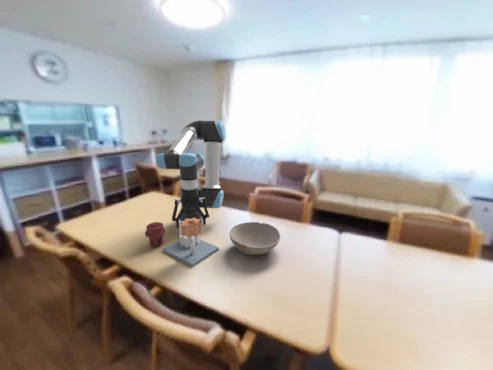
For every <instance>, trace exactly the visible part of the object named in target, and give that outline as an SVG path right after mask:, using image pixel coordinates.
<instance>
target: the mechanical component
mask: <svg viewBox="0 0 493 370" xmlns="http://www.w3.org/2000/svg"><path fill="white" fill-rule="evenodd" d="M145 228H146V230H145V232H144V234H145V237H147V238H148V239H149V242H148V243H149V245H150V246H151V247H152V248H153V249H155V248H157V247H159V246H160V245H163V244H164V235H165V234H166V233H167V231H166V228H165V227H164V223H162V222H159V221H158V222H157V221H155V222H151V223H148V224H147V225H146V227H145Z"/></svg>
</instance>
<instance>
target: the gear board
mask: <svg viewBox="0 0 493 370" xmlns="http://www.w3.org/2000/svg"><path fill="white" fill-rule="evenodd" d="M219 249H220V248H219V246H216V245H214V244H212V243H209V242H207V241H205V240H202V239H200V238H199V243H198V244H196V245H195V246H194V238H191V239H190V247H188V248H185V246H180V239H178V240H177V241H175V242H173V243H171V244H169V245H167V246H165V247H163V248H162V252H163V253H166V254H167V255H169V256H171V257H173V258H175V259H177V260H178V261H181V262H183V263H184V264H186V265H187V266H190V267H191V268H194V267H195V266H196V265H199V264H200V263H202V262H204V260H206V259H208V258H209V257H211V256H212V255H213V254H215V253H217V252H218V251H220V250H219Z"/></svg>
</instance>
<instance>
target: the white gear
mask: <svg viewBox="0 0 493 370" xmlns="http://www.w3.org/2000/svg"><path fill="white" fill-rule="evenodd" d="M178 235H179V240H180V246H185V248H188V247H190V239H191V238H194V246H195V245H196V244H198V243H199V239H200V238H199V235H200V234H198V236H197V237H195V236H193V237H190V238H187V236H182V235H180V233H178Z"/></svg>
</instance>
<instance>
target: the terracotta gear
mask: <svg viewBox="0 0 493 370" xmlns="http://www.w3.org/2000/svg"><path fill="white" fill-rule="evenodd" d="M202 233H203V232H202V222H201V220H200V219H196V218H192V219H188V218H187V219H185V220H184V221H181V235H182V236H187V238H190V237H193V236H195V237H197V236H198V234H199V235H202Z"/></svg>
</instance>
